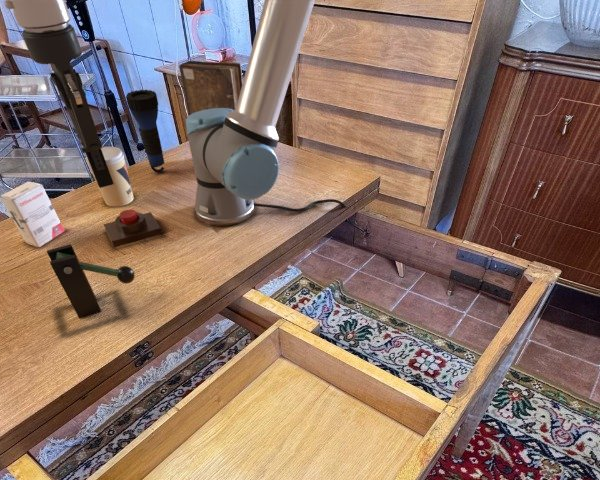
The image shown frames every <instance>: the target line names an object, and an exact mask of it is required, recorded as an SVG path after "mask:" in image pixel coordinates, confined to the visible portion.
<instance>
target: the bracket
mask: <svg viewBox="0 0 600 480" xmlns="http://www.w3.org/2000/svg"><path fill="white" fill-rule="evenodd" d="M57 252H60V253H64V254H69V255H71V256H68V257H64V258H60V259H57V260H56V255H57ZM46 254H47V256H48V257H49V260H50V261H49V263H50V267H51V268H52V270H53V272H54V274H55V275H56V277H57V280H58V282H59V284H60V285H61V287H62V289H63V291H64V292H65V294H66V296H67V298H68V300H69V303H70V304H71V306H72V308H73V310H74V312H75V314H76V315H77V318H78V319H82V318H85V317H86V318H87V317H89V316H93V315H96V314H98V313H101V312H102V309H101V307H100V305H99V302H98V299H97V297H96V295H95V292H94V289H93V288H92V286H91V283H90V281H89V280H88V277H87V275H86V273H85V270H82V268H81V266H80V264H79V262H80V260H79V258H78V256H77V253H76V252H75V250H74V247H73V245H72V244H71V243H70V244H67V245H63V246H58V247H55V248H50V249H48V250H46ZM78 261H79V262H78Z"/></svg>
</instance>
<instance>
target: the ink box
mask: <svg viewBox="0 0 600 480" xmlns="http://www.w3.org/2000/svg"><path fill="white" fill-rule="evenodd" d="M0 201H1V202H2V204H3V206H4V207H5V209H6V210H7V212H8V214H9V216H10V218H11V219H12V221H13V222H14V225H15V226H16V228H17V230H18V231H19V233H20V235H21V237H22V238H23V240H24V242H25V243H26V244H28V245H31V246H34V247H36V248H41V247H42V246H44V245H46V244H47V243H48V242H50V241H51V240H53V239H55V238H56V237H58V236H59V235H61V234H62V233H64V232H65V228H64V227H63V224H62V222H61V220H60V219H59V216H58V214H57V212H56V210H55V208H54V206H53V204H52V202H51V200H50V197H49V196H48V194H47V192H46V190H45V188H44V186H43V184H42V183H37V182H33V181H26V182H24V183H22V184H21V185H19V186H16V187H15V188H13V189H11V190H9V191H7V192H5V193H2V194H1V195H0Z"/></svg>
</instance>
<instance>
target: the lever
mask: <svg viewBox="0 0 600 480" xmlns="http://www.w3.org/2000/svg"><path fill="white" fill-rule="evenodd" d="M68 256H71V255H69V254H64V253H60V252H57V255H56V260H57V259H60V258H64V257H68ZM78 262H79V264H80V266H81V268H82V270H83V271H88V272H93V273H98V274H102V275H107V276H113V277H116V278H117V280H118V281H119V282H121V283H122V284H125V285H126V284H127V285H128V284H130V283H132V282H133V281H134V280H135V276H136V275H135V271H134V270H133V269H132V267H131V266H127V265H122V266H119V267H118V269H116V268H112V267H108V266H102V265H98V264H92V263H88V262H85V261H84V262H83V261H80V260H79V261H78Z"/></svg>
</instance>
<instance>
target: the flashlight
mask: <svg viewBox="0 0 600 480" xmlns="http://www.w3.org/2000/svg"><path fill="white" fill-rule="evenodd" d="M125 98H126V102H127V106H128V109H129V112H130V113H131V115H132V117H133V118H134V120H135V121H136V123H137V124H138V131H139V136H140V138H141V143H142V145H143V148H144V153H145V154H146V156H147V160H148V165H149V166H150V168H151V170H152V171H153V172H154V173H157V174H159V173H162V172H163V171H164V170H165V167H163V166H162V165H164V164H165V159H164V154H163V148H162V142H161V138H160V133H159V130H158V123H157V121H158V116H159V100H158V95H157V92H156V91H154V90H151V89H139V90H137V89H136V90H133V91H132V90H131V91H130V92H127V93H126V96H125ZM159 167H161V168H159ZM157 168H159V169H157Z"/></svg>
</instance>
